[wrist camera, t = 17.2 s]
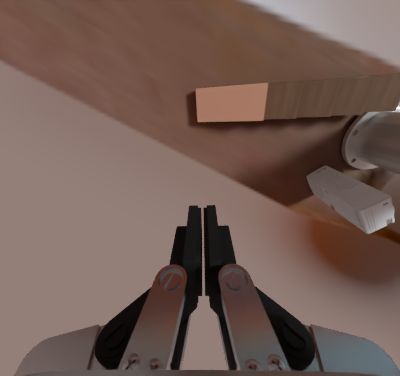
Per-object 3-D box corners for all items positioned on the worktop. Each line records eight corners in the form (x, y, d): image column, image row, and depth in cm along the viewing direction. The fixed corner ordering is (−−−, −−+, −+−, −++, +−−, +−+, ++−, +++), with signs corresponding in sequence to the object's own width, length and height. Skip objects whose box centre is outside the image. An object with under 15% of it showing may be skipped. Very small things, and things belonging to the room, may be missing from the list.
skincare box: (304, 176, 33) (357, 212, 22) (326, 163, 32) (392, 194, 21) (314, 195, 36) (365, 236, 25) (334, 184, 34) (397, 222, 24)
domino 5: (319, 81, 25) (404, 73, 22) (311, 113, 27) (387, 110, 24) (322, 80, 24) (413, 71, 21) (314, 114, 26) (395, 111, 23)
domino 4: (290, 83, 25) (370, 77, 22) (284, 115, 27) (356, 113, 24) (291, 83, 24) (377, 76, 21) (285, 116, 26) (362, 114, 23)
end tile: (197, 122, 26) (263, 120, 23) (195, 88, 24) (268, 82, 21) (200, 120, 27) (263, 119, 24) (198, 89, 25) (267, 83, 22)
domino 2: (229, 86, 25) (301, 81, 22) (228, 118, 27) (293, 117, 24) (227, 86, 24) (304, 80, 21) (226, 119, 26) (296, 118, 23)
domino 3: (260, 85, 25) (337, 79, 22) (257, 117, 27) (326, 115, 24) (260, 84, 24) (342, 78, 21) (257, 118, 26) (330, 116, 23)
